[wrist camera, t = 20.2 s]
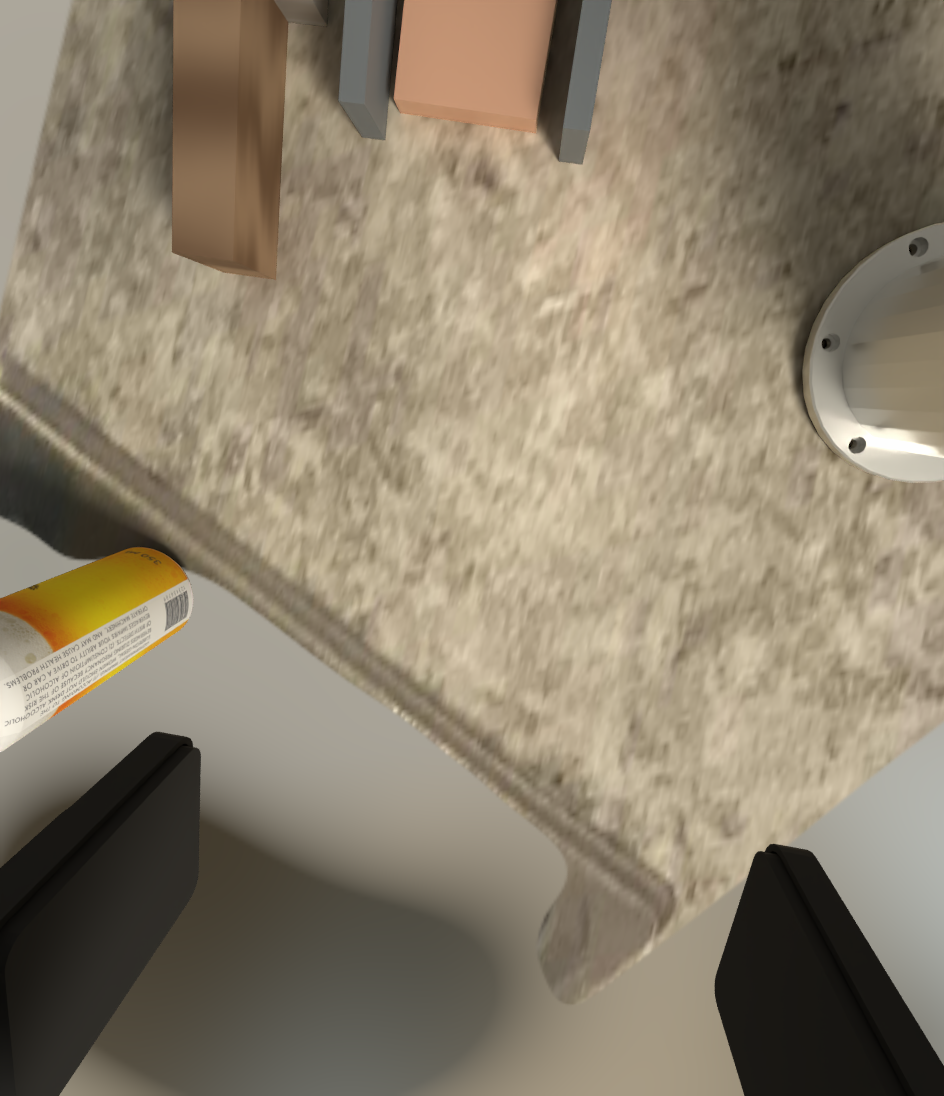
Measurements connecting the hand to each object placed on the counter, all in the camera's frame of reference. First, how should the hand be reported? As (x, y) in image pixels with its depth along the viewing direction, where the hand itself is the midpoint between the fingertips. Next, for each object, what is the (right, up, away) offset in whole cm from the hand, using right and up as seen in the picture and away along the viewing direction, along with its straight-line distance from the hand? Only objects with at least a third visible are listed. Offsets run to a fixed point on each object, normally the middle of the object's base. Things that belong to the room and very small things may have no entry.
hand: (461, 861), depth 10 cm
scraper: (-11, +26, +22) cm, 36 cm away
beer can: (-20, +3, +29) cm, 35 cm away
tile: (+1, +30, +20) cm, 36 cm away
